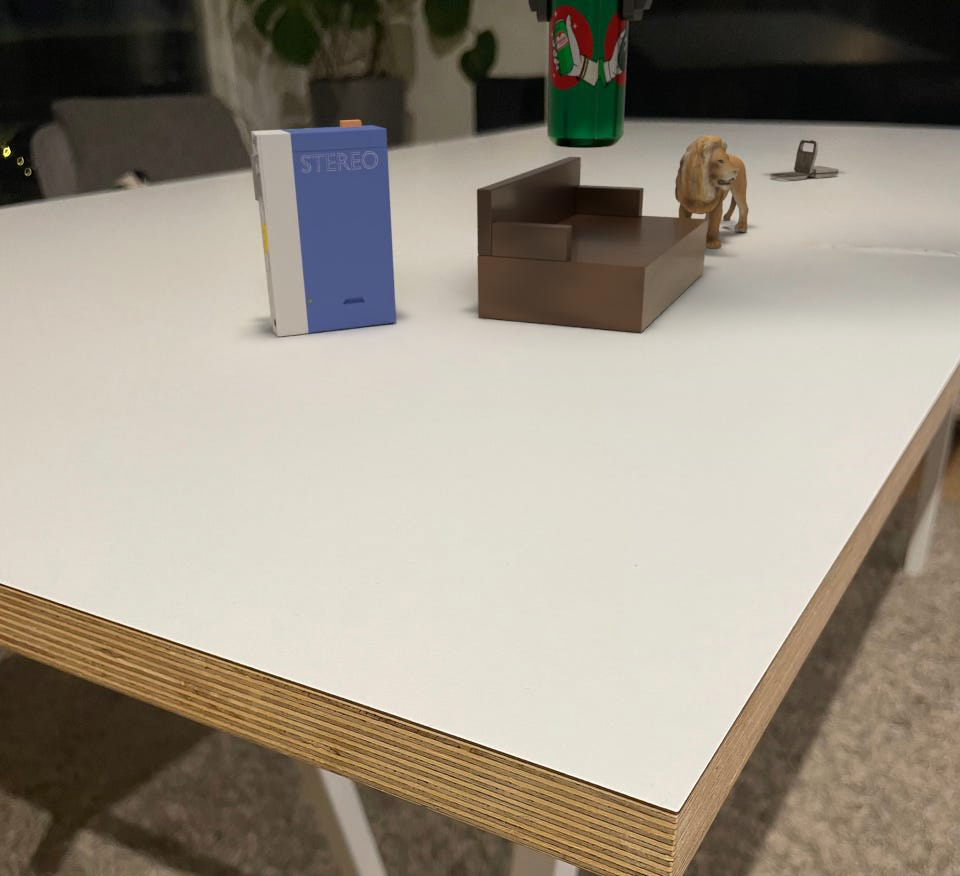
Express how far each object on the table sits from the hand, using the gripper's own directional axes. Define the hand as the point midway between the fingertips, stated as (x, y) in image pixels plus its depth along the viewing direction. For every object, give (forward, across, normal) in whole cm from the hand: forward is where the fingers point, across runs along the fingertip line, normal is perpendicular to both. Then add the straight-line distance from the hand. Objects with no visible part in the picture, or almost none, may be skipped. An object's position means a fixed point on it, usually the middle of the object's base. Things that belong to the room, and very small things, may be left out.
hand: (588, 19), depth 66 cm
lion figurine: (+17, -5, -22) cm, 28 cm away
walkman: (+17, +12, +14) cm, 25 cm away
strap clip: (+18, -7, -66) cm, 69 cm away
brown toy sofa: (+17, -1, 0) cm, 17 cm away
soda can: (+8, 0, 0) cm, 8 cm away
